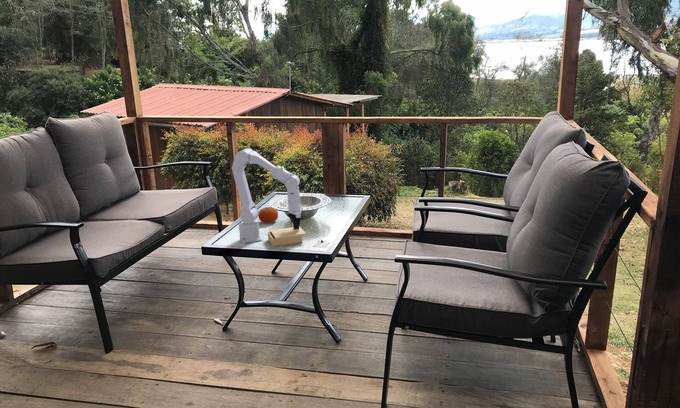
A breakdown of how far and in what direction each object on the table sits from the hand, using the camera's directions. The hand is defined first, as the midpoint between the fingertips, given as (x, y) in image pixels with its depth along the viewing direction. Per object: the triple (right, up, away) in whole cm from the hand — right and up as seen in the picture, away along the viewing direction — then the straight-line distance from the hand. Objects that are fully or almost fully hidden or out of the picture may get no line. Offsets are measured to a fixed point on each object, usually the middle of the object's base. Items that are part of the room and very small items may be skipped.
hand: (295, 228), depth 242 cm
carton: (-5, -6, 0) cm, 8 cm away
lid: (-4, -2, -1) cm, 4 cm away
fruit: (-17, +2, +33) cm, 37 cm away
